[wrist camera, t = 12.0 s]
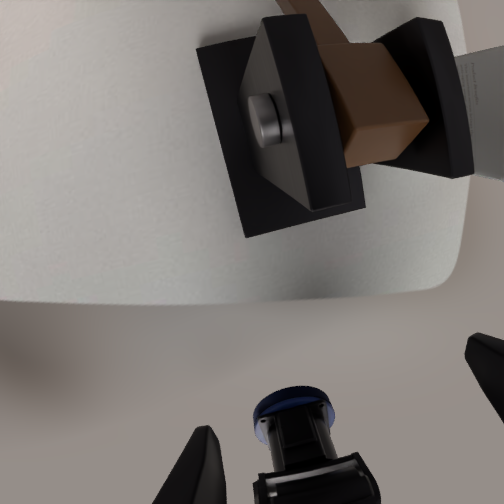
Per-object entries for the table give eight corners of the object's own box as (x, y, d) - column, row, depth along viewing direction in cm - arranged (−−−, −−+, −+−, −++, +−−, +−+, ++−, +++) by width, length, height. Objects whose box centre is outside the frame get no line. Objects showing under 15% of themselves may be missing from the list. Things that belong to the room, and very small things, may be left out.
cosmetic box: (430, 163, 19) (562, 196, 8) (384, 161, 19) (523, 191, 8) (427, 86, 17) (557, 72, 6) (380, 76, 17) (513, 40, 6)
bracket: (197, 54, 16) (162, -75, 4) (319, 34, 16) (430, -66, 4) (244, 233, 20) (278, 366, 8) (358, 204, 20) (500, 280, 8)
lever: (223, -26, 11) (217, -71, 7) (282, -33, 11) (283, -77, 7) (314, 180, 9) (339, 123, 5) (404, 162, 9) (452, 112, 6)
